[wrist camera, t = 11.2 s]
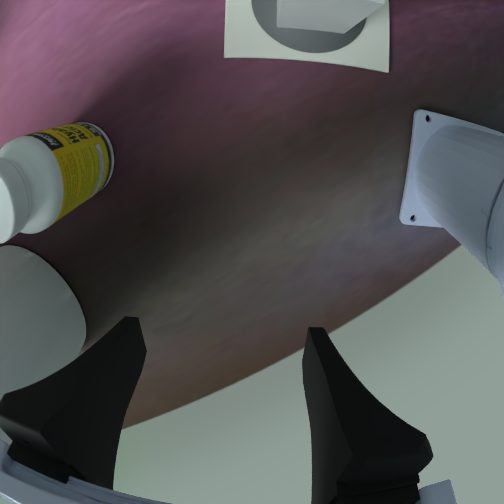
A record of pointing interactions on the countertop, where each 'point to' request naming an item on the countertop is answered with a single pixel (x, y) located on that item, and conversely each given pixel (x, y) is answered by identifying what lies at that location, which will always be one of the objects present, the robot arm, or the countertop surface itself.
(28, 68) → the countertop surface
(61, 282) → the utensil holder
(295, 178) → the countertop surface
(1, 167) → the supplement bottle
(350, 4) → the teal capped white bottle
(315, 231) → the countertop surface
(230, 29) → the white flat block
